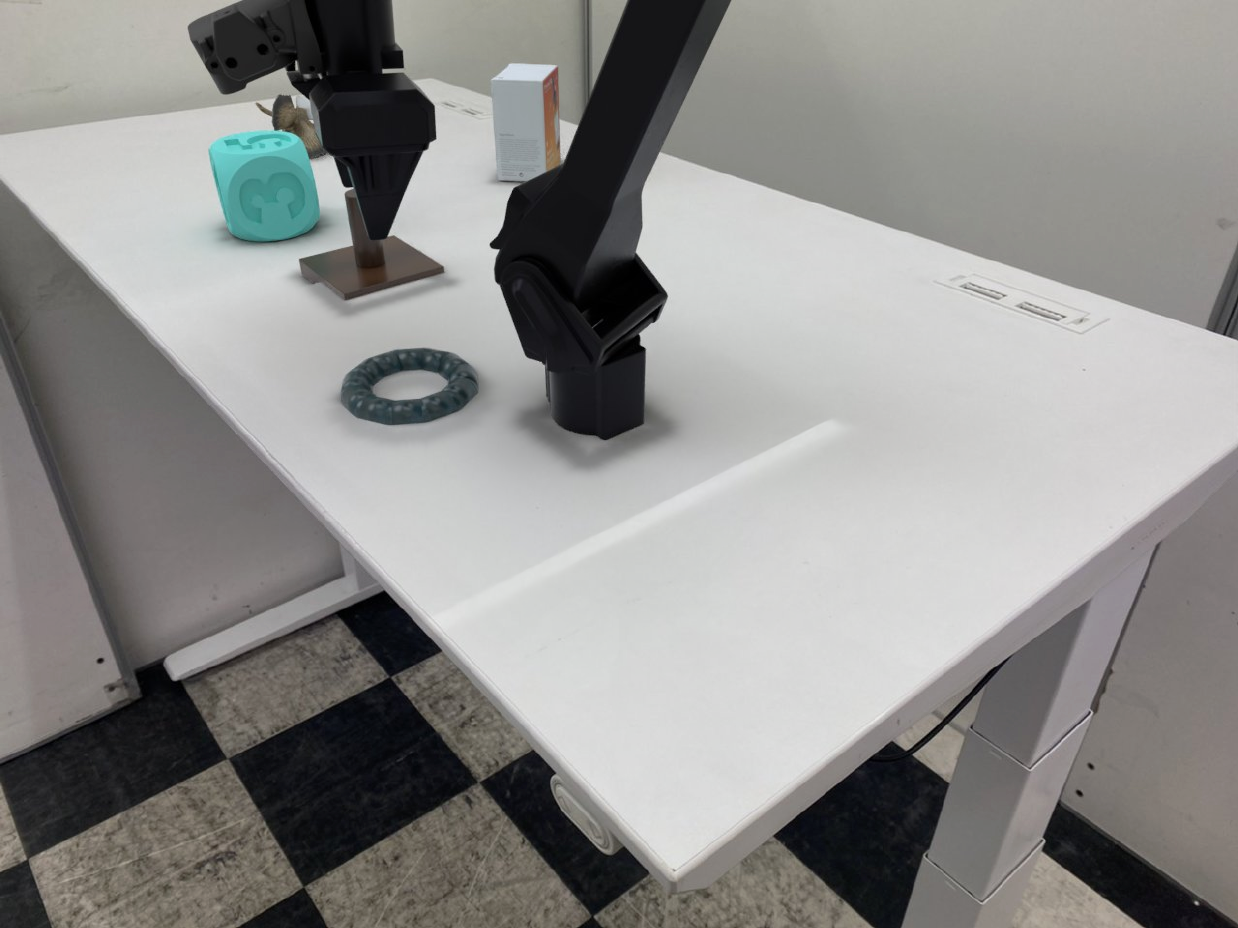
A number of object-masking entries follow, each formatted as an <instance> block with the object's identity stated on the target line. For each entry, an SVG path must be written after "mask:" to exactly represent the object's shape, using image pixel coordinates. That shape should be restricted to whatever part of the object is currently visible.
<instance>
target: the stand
mask: <svg viewBox="0 0 1238 928" xmlns="http://www.w3.org/2000/svg"><path fill="white" fill-rule="evenodd" d="M344 200H345V208H346V212H347V218H348V224H349V230H350V236H351V243H352V245H349V246H345V247H341V248H338V249H333V250H329V251H325V252H321V253H317V254H313V255H310V256H306V257H301V258H298V264H299V268H300V273H301V276H302V277H304V278H305V279H306V280H308V281H309V282H310V283H311V284H312V285H316V284H319V283H322V284H323V285H325V287H327V288H328V289H329V290H331V291H332V292H334V293H335V294H336V295H337V296H339V297H340V298H342V300H344V301H348V300H352V299H356V298H359V297H362V296H366V295H369V294H372V293H377V292H380V291H384V290H387V289H391V288H395V287H398V286H401V285H405V284H408V283H413V282H415V281H419V280H423V279H427V278H430V277H433V276H436V275H440V274H443V273H445V267H444V265H443V264H440V263H439V262H437V261H436V260H434V259H433V258H431V257H429V256H428V255H426V254H425V253H423V252H421V251H420V250H418V249H417V248H415V247H414V246H412V245H411V244H409V243H407V242H406V241H404V240H403V239H401V238H399V237H397V236H396V235H392V234H391V235H388V237H387V238H386V239H384V240H376V241H372V240H370V239H369V237H368V235H367V232H366V228H365V225H364V222H363V219H362V215H361V212H360V209H359V205H358V202H357V198H356V195H355V192H354V188H350V189H348V190H346V191H345V192H344Z"/></svg>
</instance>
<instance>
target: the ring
mask: <svg viewBox="0 0 1238 928" xmlns="http://www.w3.org/2000/svg"><path fill="white" fill-rule="evenodd" d="M405 371H407V372H408V371H426V372H430V373H436V374H439V375H440V376H441V377H443V378H444V380H446V381H447V384H446V386H444V387H443V388H442V389H441V390H440V391H437V392H434V393H432V394H429V395H426V396H423V397H420V398H409V399H408V398H407V399H397V400H396V399H390V398H386V397H381V396H377V395H376V394H374V392H373V391H374V386H375V385H376V384H378V383H379V382H380V381H381V380H382V379H384V378H385V377H388V376H391V375H394V374H397V373H400V372H405ZM478 378H479V377H478V373H477V370H476V369H475V368H474V366H473V365H472V364H470V363H469V362H468V361H466V360H465V359H463V358H462V357H460V356H459V355H458V354H456V353H454V352H450V351H446V350H442V349H441V350H440V349H436V348H432V347H431V348H430V347H413V348H411V347H410V348H397V349H392V350H389V351H386V352H383V353H379V354H377V355H372V356H371V357H370V356H369V357H368V358H366V359H364V360H363V361H361V362H360V363H359V364H358V365H356V366H355V367H353V369H351V370H350V371H349V372H348V373H347V374H345V376H344V378H343V380H342V385H341V390H340V395H339V400H340V401H339V402H340V403H341V405H342V406H343V407H344V408H345V409H346V410H347V411H349V413H350V414H352V415H353V416H354V417H355V418H357V419H360V420H364V421H368V422H373V423H377V424H381V425H386V426H399V425H401V426H402V425H413V424H414V425H415V424H426V423H430V422H433V421H436V420H438V419H442V418H444V417H447V416H450V415H452V414H454V413H458V412H459V411H461V410H462V409H463V408H464V407H466V405H468V404H469V403H470V402H471V400H473V399H474V398H475V397H476V396H477V395H478V393H479V379H478Z"/></svg>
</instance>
